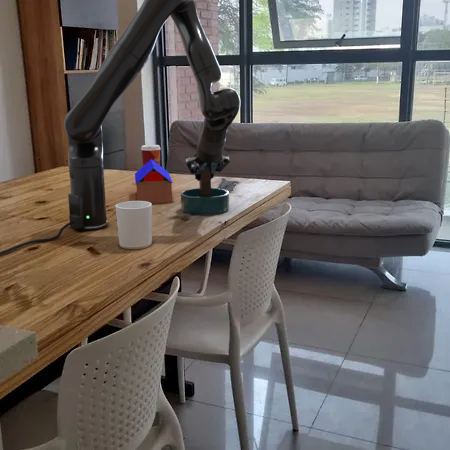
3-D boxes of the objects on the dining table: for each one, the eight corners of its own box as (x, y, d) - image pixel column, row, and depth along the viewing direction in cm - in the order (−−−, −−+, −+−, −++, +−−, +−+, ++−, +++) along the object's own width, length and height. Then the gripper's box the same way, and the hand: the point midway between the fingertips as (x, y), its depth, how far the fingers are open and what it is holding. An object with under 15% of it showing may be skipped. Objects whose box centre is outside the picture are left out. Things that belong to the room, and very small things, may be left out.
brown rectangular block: (211, 195, 182) (210, 166, 180) (201, 196, 181) (200, 167, 179) (209, 193, 185) (208, 165, 183) (199, 194, 184) (198, 165, 182)
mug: (156, 248, 146) (154, 207, 143) (120, 251, 144) (117, 210, 141) (149, 236, 156) (147, 198, 154) (114, 239, 154) (112, 200, 151)
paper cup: (160, 183, 227) (159, 146, 224) (140, 183, 227) (139, 147, 224) (163, 179, 235) (161, 144, 231) (143, 179, 235) (142, 144, 231)
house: (136, 204, 193) (134, 168, 190) (135, 191, 212) (134, 159, 209) (173, 202, 195) (172, 167, 192) (169, 190, 214) (168, 158, 211)
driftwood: (233, 193, 208) (233, 187, 208) (214, 192, 209) (214, 186, 209) (239, 182, 228) (239, 177, 228) (221, 182, 229) (221, 177, 228)
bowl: (201, 218, 174) (201, 200, 173) (171, 209, 185) (171, 192, 184) (238, 210, 184) (238, 192, 182) (208, 202, 194) (208, 186, 193)
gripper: (232, 132, 173) (223, 167, 187) (185, 134, 169) (179, 169, 184) (237, 152, 169) (227, 186, 184) (189, 155, 166) (183, 189, 180)
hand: (203, 178), depth 184 cm, fingers closed on brown rectangular block, 3 cm apart
